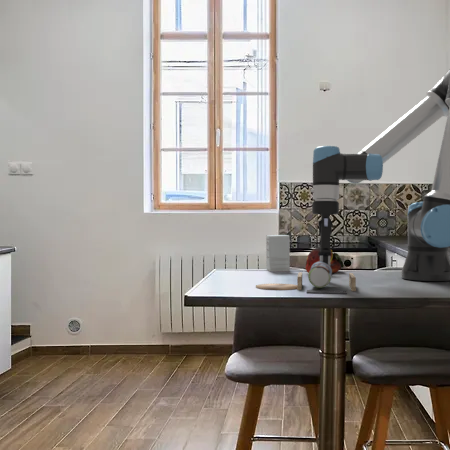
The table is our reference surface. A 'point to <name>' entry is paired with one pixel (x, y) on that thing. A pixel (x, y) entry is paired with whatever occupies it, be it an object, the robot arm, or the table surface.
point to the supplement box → (277, 253)
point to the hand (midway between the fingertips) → (324, 277)
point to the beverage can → (320, 274)
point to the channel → (351, 281)
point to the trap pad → (326, 292)
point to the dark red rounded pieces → (313, 257)
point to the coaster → (277, 286)
